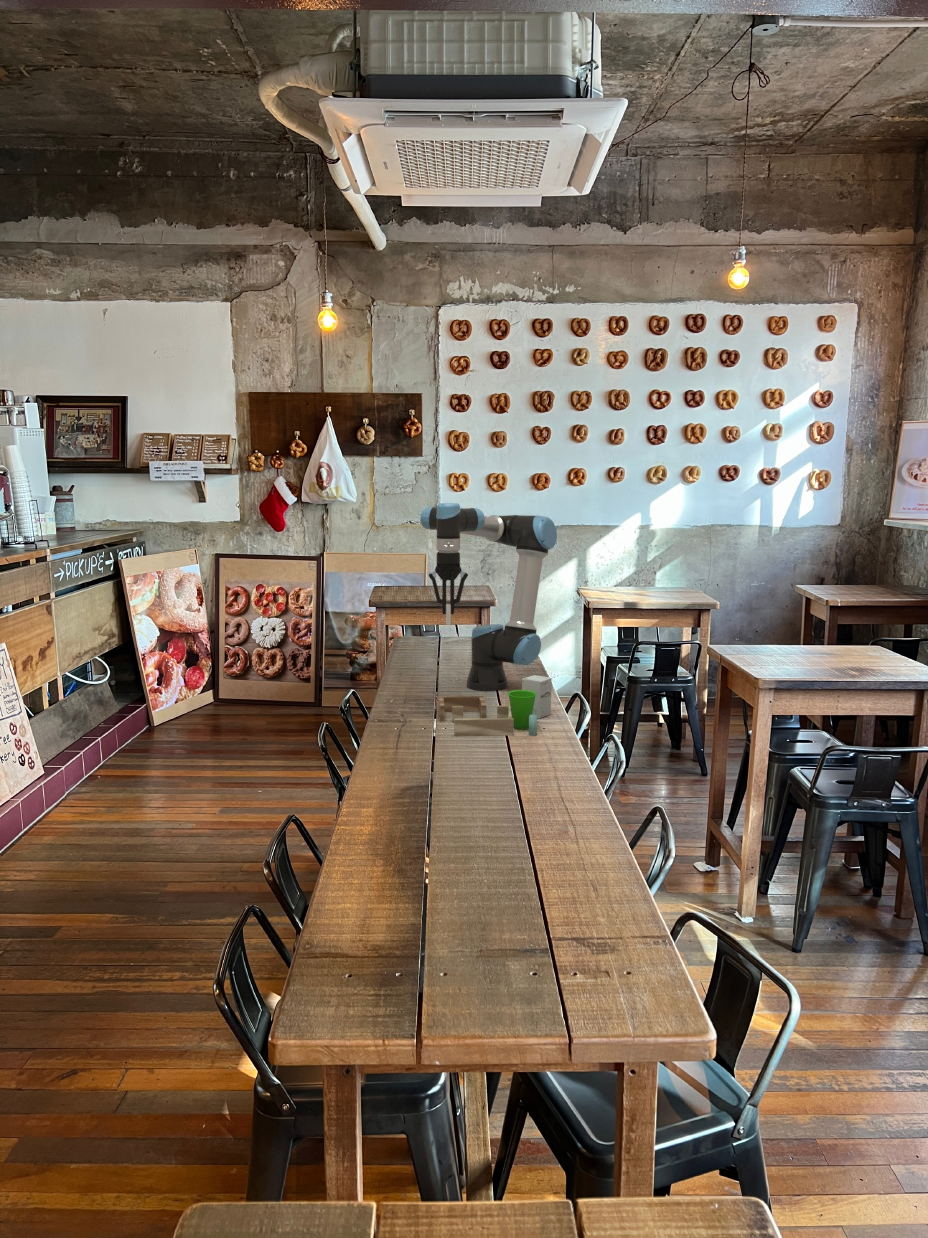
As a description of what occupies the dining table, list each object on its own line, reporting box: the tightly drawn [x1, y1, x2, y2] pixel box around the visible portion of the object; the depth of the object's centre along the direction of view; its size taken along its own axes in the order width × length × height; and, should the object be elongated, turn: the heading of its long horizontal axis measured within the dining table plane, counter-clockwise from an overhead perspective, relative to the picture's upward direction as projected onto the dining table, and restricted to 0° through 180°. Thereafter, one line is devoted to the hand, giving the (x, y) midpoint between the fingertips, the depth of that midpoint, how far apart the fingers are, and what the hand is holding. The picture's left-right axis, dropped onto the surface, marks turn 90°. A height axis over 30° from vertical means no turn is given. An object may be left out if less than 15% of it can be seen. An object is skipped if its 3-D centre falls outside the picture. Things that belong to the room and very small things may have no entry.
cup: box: [507, 689, 537, 731], centre depth 273 cm, size 9×9×11 cm
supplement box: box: [521, 674, 552, 720], centre depth 287 cm, size 7×7×13 cm
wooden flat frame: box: [438, 695, 515, 737], centre depth 279 cm, size 28×22×5 cm
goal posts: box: [528, 714, 538, 737], centre depth 273 cm, size 17×2×6 cm, turn 3°
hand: (448, 623), depth 283 cm, fingers closed
